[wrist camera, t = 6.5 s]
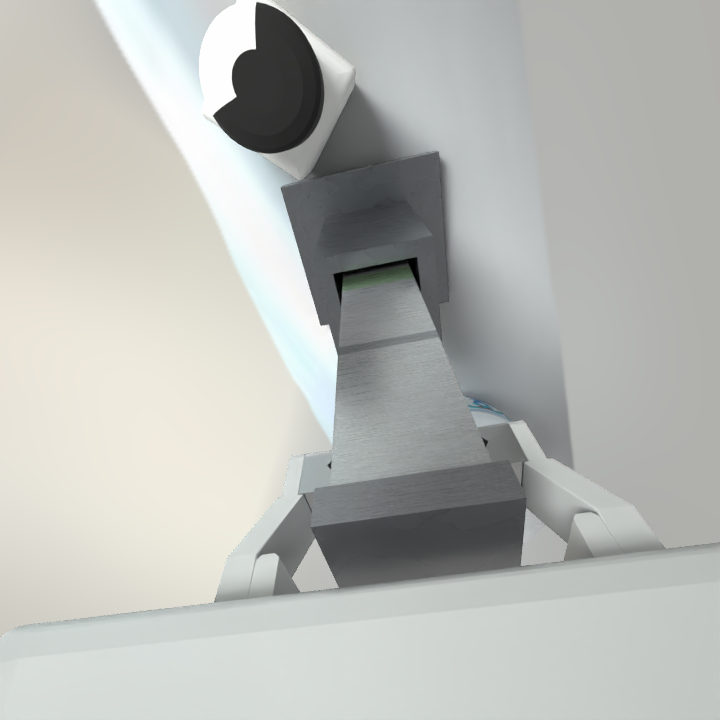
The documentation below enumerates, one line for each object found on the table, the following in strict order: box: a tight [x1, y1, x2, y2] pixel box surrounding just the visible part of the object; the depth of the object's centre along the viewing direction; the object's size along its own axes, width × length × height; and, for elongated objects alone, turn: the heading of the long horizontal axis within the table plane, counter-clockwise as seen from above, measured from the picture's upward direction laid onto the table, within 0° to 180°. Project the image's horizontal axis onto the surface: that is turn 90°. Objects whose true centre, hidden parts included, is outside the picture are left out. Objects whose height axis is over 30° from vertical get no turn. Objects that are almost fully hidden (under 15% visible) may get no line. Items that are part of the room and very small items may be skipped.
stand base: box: [281, 151, 449, 354], centre depth 28 cm, size 13×13×14 cm
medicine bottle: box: [199, 0, 355, 180], centre depth 22 cm, size 7×7×12 cm
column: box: [310, 259, 527, 588], centre depth 18 cm, size 5×5×22 cm
